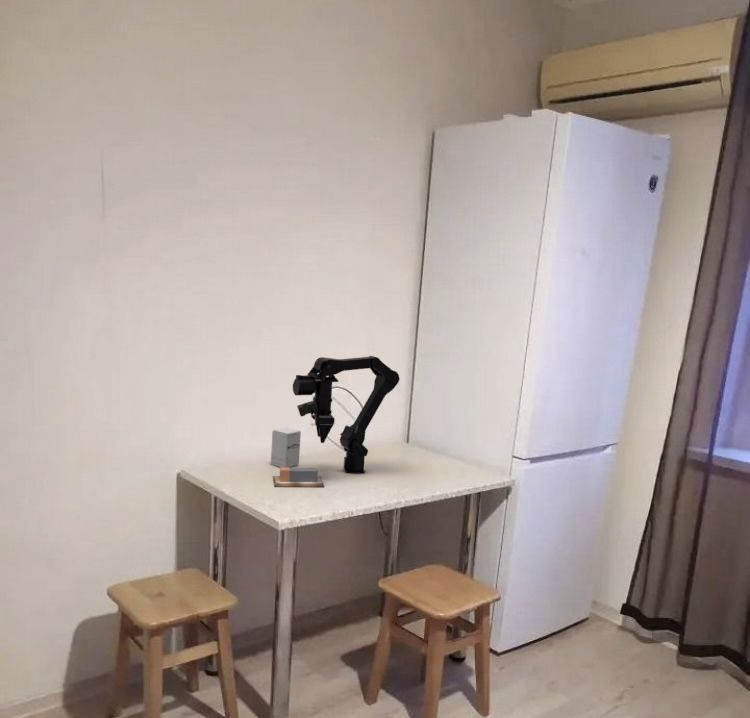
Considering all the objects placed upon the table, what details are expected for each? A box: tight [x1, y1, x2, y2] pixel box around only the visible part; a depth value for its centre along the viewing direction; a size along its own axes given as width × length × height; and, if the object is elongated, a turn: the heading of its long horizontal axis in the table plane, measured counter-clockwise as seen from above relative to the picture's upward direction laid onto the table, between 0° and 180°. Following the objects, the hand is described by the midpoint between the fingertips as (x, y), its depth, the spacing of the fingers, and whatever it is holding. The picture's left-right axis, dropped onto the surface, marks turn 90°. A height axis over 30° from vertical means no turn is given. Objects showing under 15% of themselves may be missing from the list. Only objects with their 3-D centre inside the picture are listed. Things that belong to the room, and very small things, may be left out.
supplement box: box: [270, 427, 301, 468], centre depth 254 cm, size 7×7×13 cm
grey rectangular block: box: [279, 467, 319, 482], centre depth 234 cm, size 12×4×4 cm, turn 101°
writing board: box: [272, 475, 325, 488], centre depth 234 cm, size 16×11×1 cm
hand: (320, 439), depth 244 cm, fingers open, 9 cm apart
